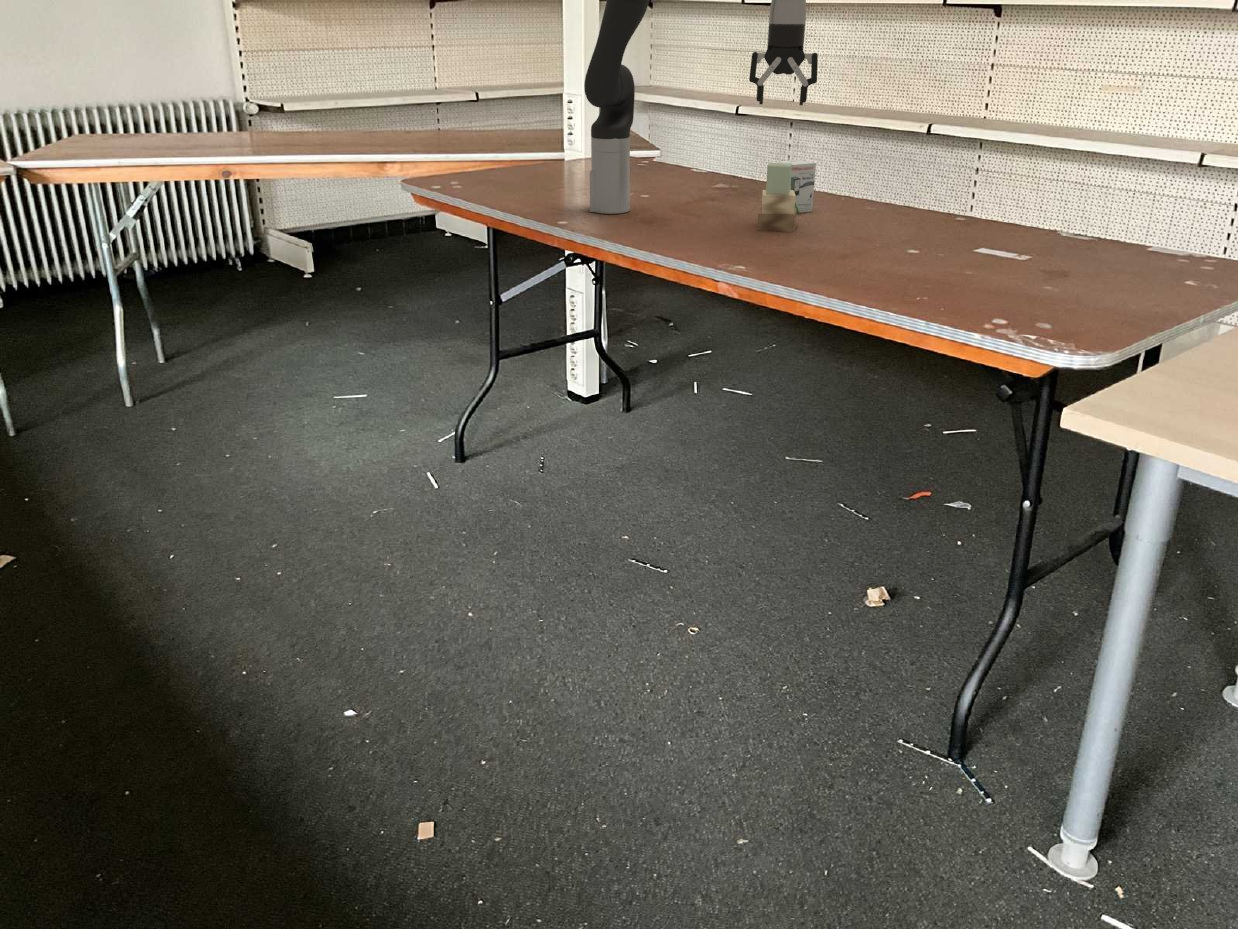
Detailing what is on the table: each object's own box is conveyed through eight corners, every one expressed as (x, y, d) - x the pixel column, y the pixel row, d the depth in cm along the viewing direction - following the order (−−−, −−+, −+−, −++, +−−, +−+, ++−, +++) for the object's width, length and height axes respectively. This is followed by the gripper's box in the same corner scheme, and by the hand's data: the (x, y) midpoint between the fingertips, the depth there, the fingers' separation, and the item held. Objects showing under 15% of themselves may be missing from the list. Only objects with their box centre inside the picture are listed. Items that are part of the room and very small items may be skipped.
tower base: (756, 231, 217) (758, 213, 216) (760, 224, 224) (761, 207, 223) (793, 233, 216) (794, 214, 214) (795, 226, 223) (796, 208, 221)
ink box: (784, 215, 233) (788, 163, 228) (772, 211, 237) (775, 161, 232) (813, 211, 237) (817, 161, 232) (800, 208, 241) (803, 158, 236)
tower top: (762, 213, 216) (763, 195, 214) (761, 207, 222) (762, 189, 220) (794, 214, 215) (795, 195, 213) (792, 208, 221) (793, 190, 219)
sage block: (765, 194, 215) (767, 165, 212) (767, 190, 219) (769, 162, 217) (788, 194, 214) (790, 166, 211) (790, 191, 218) (792, 163, 216)
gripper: (752, 21, 200) (747, 105, 207) (822, 22, 198) (815, 106, 205) (753, 21, 207) (748, 102, 214) (821, 21, 205) (814, 103, 212)
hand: (781, 104), depth 209 cm, fingers open, 8 cm apart
